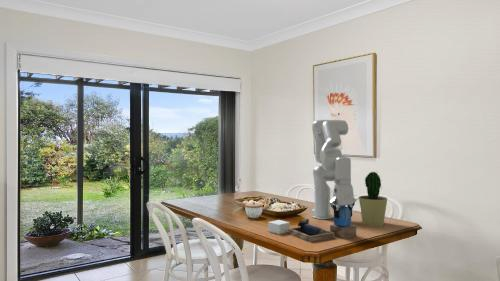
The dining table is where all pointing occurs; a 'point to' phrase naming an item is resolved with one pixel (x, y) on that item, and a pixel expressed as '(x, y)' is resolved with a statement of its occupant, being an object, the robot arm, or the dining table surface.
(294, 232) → the wooden tray
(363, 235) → the dining table surface
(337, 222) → the perfume bottle
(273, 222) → the grey block
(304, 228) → the navy pump bottle
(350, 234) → the walnut block
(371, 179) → the potted cactus
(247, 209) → the filled white bowl
